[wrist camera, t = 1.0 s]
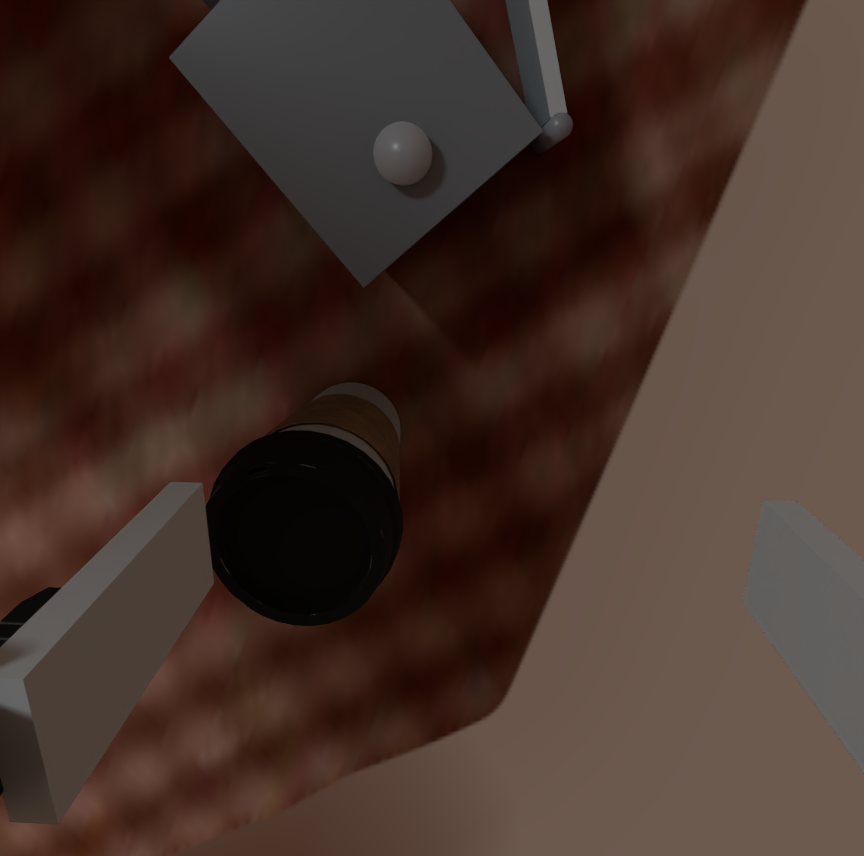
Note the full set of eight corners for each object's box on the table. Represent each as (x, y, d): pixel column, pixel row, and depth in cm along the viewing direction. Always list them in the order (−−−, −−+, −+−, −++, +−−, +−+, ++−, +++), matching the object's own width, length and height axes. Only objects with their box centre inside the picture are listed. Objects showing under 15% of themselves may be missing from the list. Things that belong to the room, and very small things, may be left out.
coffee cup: (396, 343, 38) (355, 427, 24) (438, 470, 40) (424, 614, 26) (265, 383, 39) (151, 484, 25) (314, 504, 41) (236, 659, 27)
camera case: (202, 51, 33) (114, -1, 25) (343, -103, 31) (298, -217, 22) (384, 271, 36) (360, 290, 28) (525, 147, 34) (545, 128, 26)
